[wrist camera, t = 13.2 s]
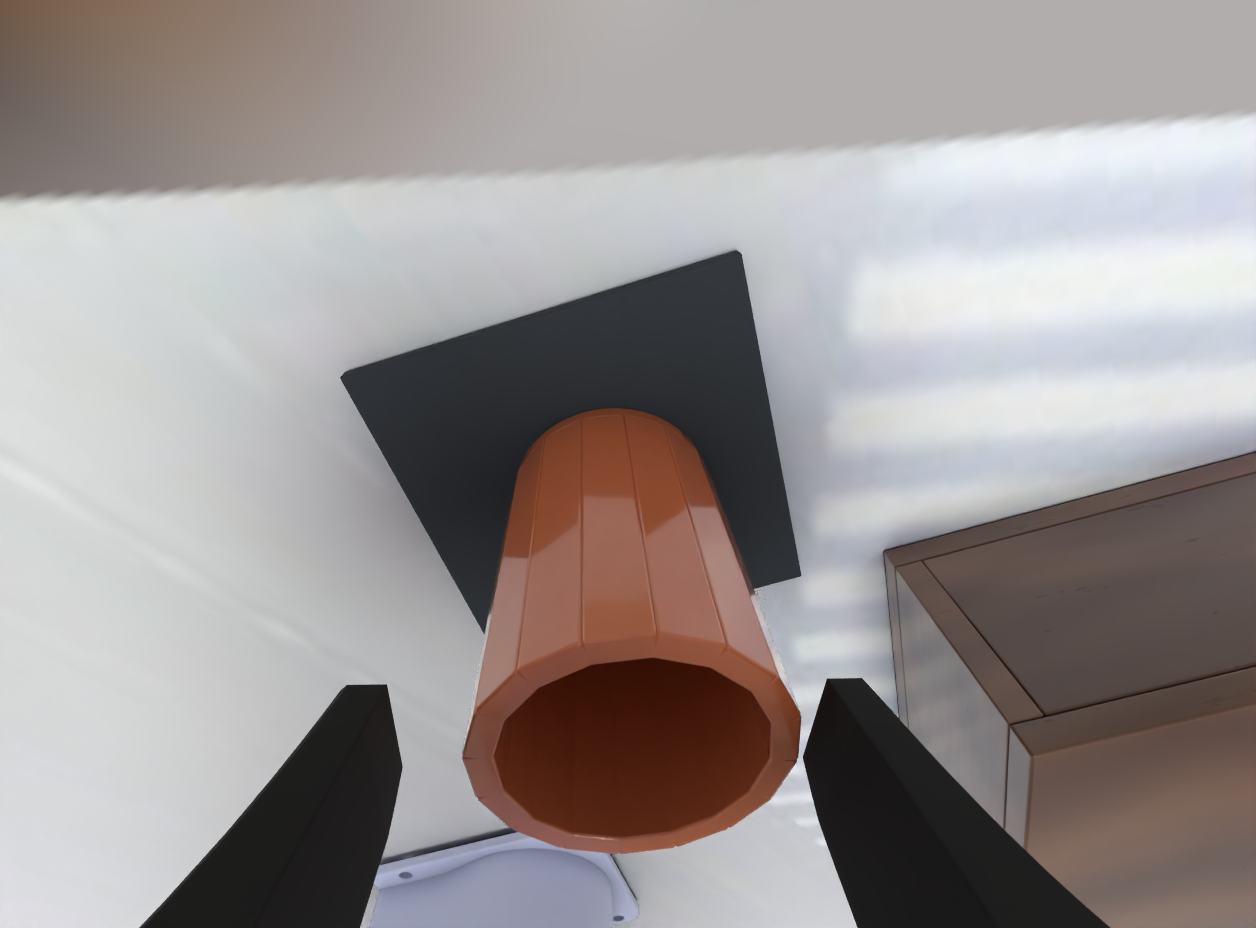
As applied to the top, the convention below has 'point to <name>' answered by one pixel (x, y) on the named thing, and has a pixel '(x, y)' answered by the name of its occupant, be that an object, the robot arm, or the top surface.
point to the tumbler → (624, 650)
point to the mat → (583, 410)
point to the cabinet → (1100, 688)
